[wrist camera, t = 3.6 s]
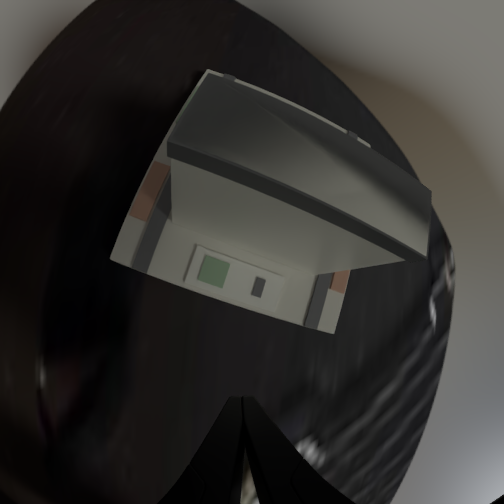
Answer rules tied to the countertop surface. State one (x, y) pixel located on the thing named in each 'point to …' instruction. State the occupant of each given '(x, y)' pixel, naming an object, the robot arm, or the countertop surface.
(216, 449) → the robot arm
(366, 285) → the countertop surface
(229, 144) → the switch slider
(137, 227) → the switch panel
